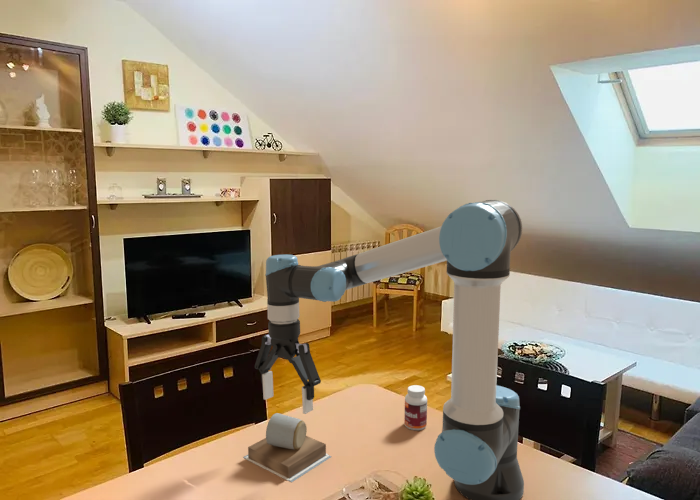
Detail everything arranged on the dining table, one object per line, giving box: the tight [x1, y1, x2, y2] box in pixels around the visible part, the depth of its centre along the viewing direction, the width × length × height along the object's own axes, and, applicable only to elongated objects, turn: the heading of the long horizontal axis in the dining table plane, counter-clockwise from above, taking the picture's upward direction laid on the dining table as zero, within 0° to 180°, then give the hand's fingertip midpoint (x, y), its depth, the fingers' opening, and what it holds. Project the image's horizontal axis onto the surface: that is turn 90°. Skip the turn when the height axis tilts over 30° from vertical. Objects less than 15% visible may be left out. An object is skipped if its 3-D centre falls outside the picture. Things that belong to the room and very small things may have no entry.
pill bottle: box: [403, 384, 428, 431], centre depth 148 cm, size 6×6×11 cm
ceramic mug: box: [265, 412, 308, 450], centre depth 133 cm, size 11×8×8 cm
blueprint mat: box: [242, 452, 332, 483], centre depth 133 cm, size 17×14×1 cm
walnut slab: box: [247, 435, 327, 478], centre depth 132 cm, size 14×13×3 cm
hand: (287, 404), depth 130 cm, fingers open, 13 cm apart
